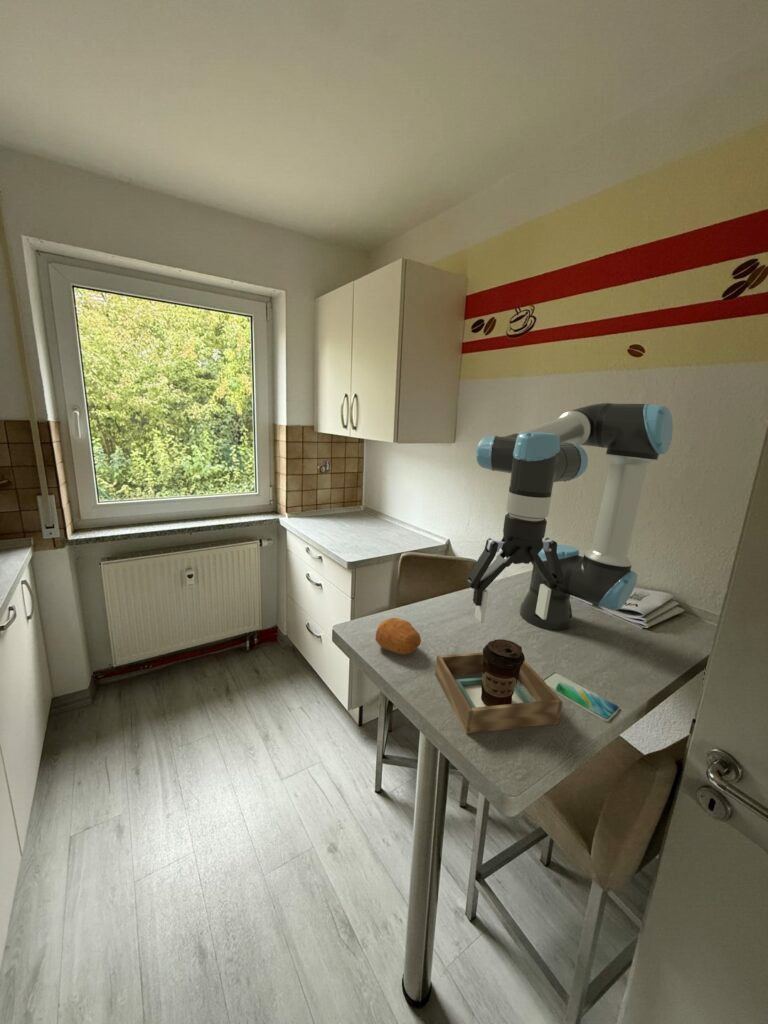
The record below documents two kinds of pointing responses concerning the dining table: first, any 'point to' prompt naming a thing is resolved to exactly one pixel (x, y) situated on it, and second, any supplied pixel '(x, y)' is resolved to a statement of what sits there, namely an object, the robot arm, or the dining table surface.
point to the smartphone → (582, 697)
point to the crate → (499, 717)
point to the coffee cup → (500, 671)
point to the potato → (398, 636)
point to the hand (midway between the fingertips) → (510, 618)
